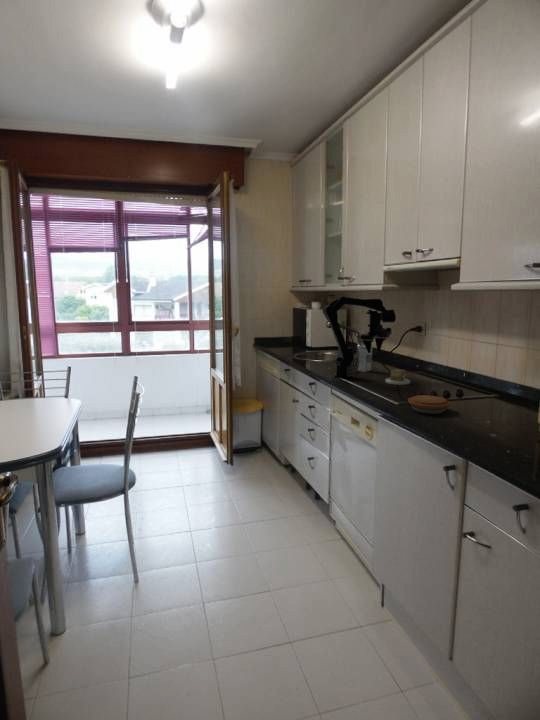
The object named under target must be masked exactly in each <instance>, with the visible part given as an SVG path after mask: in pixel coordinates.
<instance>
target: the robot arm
mask: <svg viewBox="0 0 540 720" xmlns="http://www.w3.org/2000/svg"><path fill="white" fill-rule="evenodd" d="M344 305H348V306H359V307H364V308H367V309H368V311H366V312H365V314H366V315H369V324H367V327H368V328H369V329H368V331H367V333H362V334H360V336H359V340H361V342H363V345H365V347H366V349H367V351H368V353H370V352H371V346H373V345H372V344H373V342H374V341H375V345H376V350H377V352H380V351H381V349H382V345H383V344H384V342H385V341H386V340H387V339H388V338H390V335H392V328H391V327H387V328H384V327H383V324H381V323H395V322H396V319H397V318H396V317H397V316H396V313H395V309H386V307H385V306H384V303H383V301H382V299H380V298H365V299H364V298H356V297H348V296H347V297H346V296H343V295H342V296H339V297H337V299H335V300H333V301H332V302H330V303H329V304H326V305H324V307H322V314H323V316H324V317H325V319H326V320H327V321H328V323H329V326H330V328H331V330H332V333H333V335H334V336H333V337H334V339H335V342H336V344H337V349H338V357H337V358H336V359H335V361H334V362H335V364H336V374H335V375H333V377H335V378H341V379H346V378H351V375H349V370H350V369H349V367H350V366H351V363H352V362H353V361H354V356H355V354H354V352H353V348H352V347H350V346H347V343H346V340H345V338H344V337H345V336H344V335H343V332H342V330H341V326H340V323H339V320H338V319H339V317H338V316H339V315H338V311H339V310H340V309H341V308H342V307H343V306H344Z"/></svg>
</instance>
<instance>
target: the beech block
mask: <svg viewBox="0 0 540 720" xmlns="http://www.w3.org/2000/svg"><path fill="white" fill-rule="evenodd" d="M390 378H391V380H393V381H403V380H405V379H406V370H405V369H399V368H396V369H391V370H390Z"/></svg>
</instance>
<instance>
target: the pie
mask: <svg viewBox="0 0 540 720" xmlns="http://www.w3.org/2000/svg"><path fill="white" fill-rule="evenodd" d="M407 402H408V404H409V405H410V406H411V408H412V410H413V411H415V412H417V413H420V414H427V415H437V414H438V415H440V414H443V413H445V411H446V410H447V408H448V407H450V405H451V402H450V401H449V400H447V399H446V398H444V397H441V396H436V395H425V394H422V395H421V394H419V395H414V396H411V397H409V398H408V399H407Z"/></svg>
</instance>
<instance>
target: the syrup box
mask: <svg viewBox="0 0 540 720" xmlns="http://www.w3.org/2000/svg"><path fill="white" fill-rule="evenodd" d="M357 353H358V354H357V372H364V373H367V372H371V371H372V362H373V361H372V359H373V345H371V352H370V353H368V351H367V349H366V347H365V345H364V344H363V345H358V352H357Z"/></svg>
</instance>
